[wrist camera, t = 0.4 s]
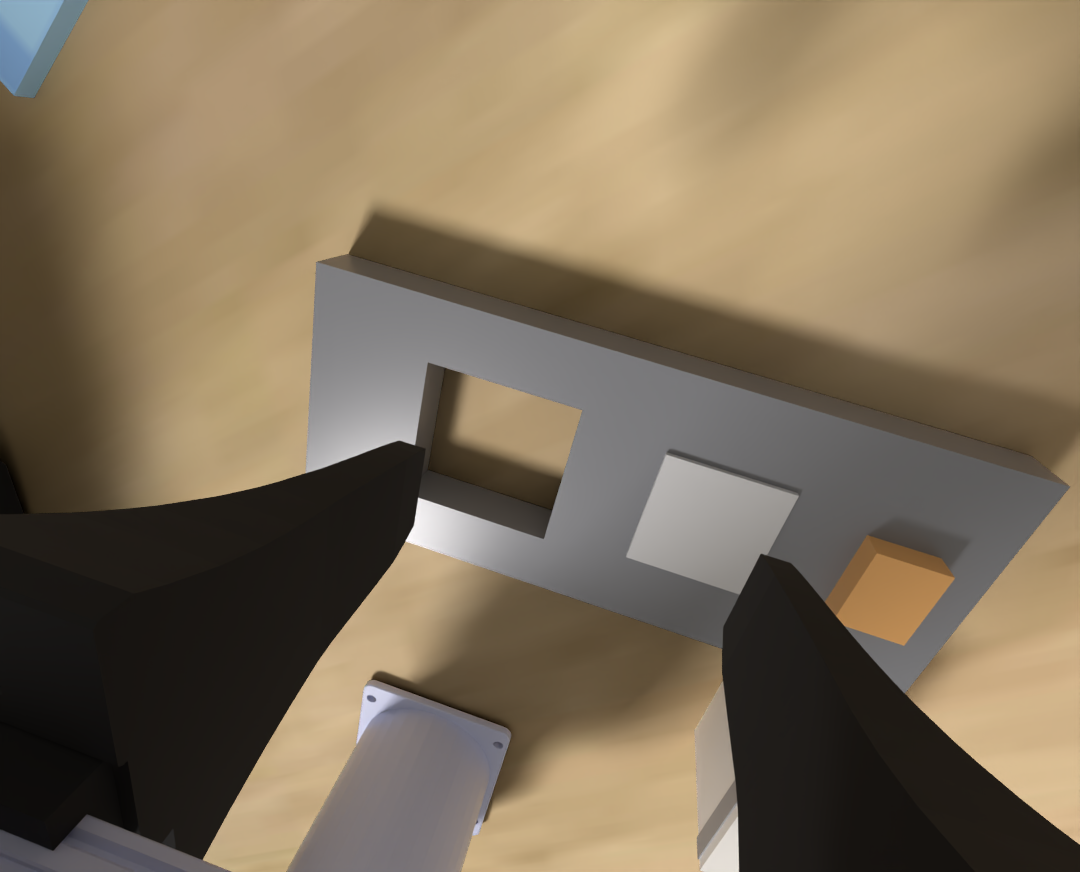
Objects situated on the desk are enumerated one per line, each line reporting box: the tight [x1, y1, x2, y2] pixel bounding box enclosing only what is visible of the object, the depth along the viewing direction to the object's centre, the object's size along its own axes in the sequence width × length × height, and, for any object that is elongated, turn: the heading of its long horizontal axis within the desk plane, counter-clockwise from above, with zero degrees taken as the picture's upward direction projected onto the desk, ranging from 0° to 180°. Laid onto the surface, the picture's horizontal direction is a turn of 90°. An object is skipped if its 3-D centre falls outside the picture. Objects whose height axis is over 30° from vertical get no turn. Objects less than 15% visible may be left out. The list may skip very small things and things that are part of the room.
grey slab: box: [306, 254, 1070, 693], centre depth 20 cm, size 24×10×3 cm, turn 76°
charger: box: [695, 681, 739, 872], centre depth 23 cm, size 4×4×6 cm
